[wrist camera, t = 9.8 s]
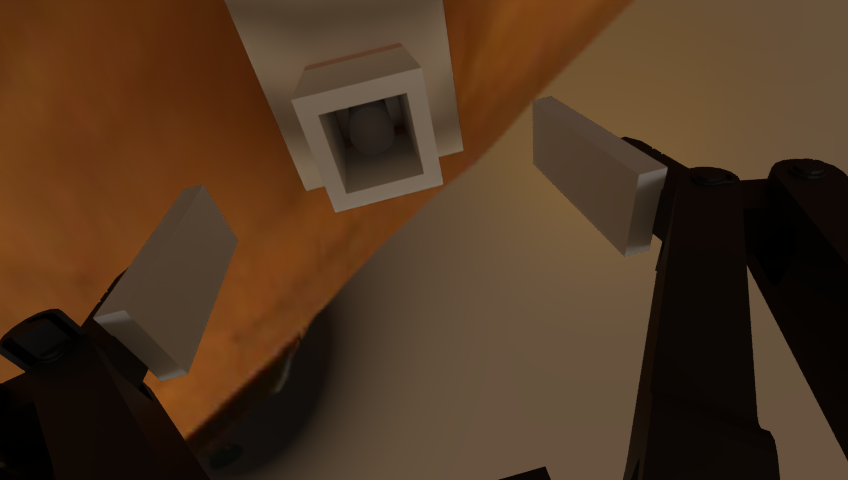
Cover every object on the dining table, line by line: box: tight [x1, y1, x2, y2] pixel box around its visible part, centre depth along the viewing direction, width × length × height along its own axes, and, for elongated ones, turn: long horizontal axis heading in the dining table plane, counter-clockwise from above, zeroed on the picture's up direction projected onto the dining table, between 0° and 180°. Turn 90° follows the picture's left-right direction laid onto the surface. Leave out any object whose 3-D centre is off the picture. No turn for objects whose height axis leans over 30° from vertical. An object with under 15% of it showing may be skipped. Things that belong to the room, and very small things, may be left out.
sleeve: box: [291, 43, 443, 213], centre depth 22 cm, size 6×6×8 cm
